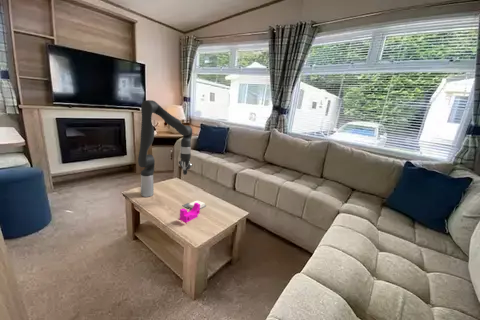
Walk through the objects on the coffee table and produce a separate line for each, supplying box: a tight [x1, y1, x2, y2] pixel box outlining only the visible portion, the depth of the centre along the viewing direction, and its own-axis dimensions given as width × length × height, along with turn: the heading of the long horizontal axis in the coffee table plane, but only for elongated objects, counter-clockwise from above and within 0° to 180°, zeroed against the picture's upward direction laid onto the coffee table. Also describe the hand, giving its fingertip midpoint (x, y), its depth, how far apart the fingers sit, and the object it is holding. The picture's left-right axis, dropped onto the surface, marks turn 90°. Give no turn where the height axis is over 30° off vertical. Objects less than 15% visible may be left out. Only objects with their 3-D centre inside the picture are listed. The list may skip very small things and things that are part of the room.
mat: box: [182, 202, 207, 211], centre depth 166 cm, size 14×12×1 cm
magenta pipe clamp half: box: [179, 203, 201, 224], centre depth 149 cm, size 15×6×8 cm, turn 146°
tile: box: [189, 200, 206, 209], centre depth 165 cm, size 2×9×8 cm
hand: (185, 174), depth 167 cm, fingers closed
